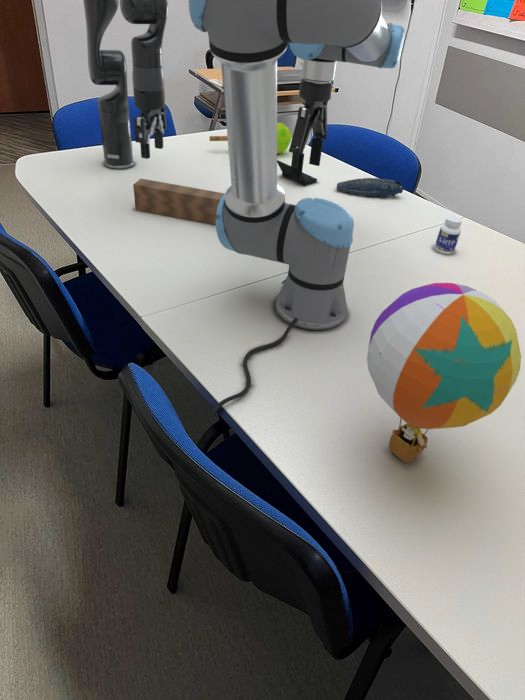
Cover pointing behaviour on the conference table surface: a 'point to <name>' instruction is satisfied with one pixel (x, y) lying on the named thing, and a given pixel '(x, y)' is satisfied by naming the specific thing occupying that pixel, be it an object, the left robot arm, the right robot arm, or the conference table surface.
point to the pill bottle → (448, 235)
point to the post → (176, 201)
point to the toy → (441, 360)
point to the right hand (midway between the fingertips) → (305, 172)
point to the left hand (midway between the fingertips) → (152, 153)
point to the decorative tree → (282, 137)
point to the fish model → (371, 187)
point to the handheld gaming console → (287, 169)
